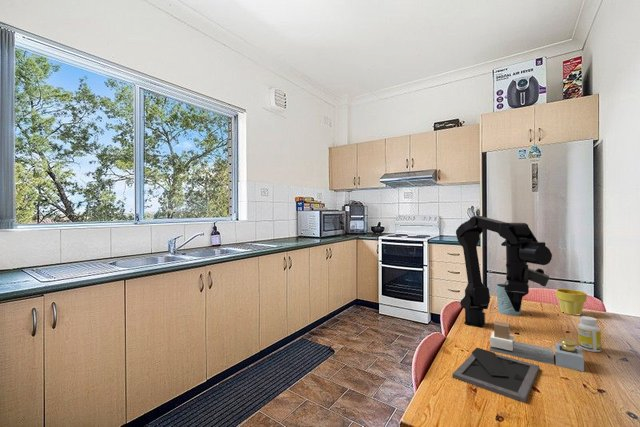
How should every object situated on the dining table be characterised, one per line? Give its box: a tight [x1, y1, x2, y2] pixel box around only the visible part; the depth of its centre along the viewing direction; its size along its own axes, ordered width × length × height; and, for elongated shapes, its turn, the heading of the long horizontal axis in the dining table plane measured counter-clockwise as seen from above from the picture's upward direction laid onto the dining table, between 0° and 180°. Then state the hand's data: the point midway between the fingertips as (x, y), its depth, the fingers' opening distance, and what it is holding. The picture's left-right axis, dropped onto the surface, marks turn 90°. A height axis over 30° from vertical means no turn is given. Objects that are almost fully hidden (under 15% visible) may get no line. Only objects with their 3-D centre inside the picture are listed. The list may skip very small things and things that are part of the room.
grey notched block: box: [554, 342, 585, 372], centre depth 86 cm, size 6×8×4 cm
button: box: [559, 337, 577, 353], centre depth 86 cm, size 4×4×4 cm
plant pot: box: [555, 288, 587, 315], centre depth 131 cm, size 10×10×10 cm
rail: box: [489, 340, 555, 366], centre depth 93 cm, size 16×8×3 cm, turn 53°
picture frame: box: [451, 347, 540, 404], centre depth 81 cm, size 16×2×21 cm
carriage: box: [489, 320, 515, 351], centre depth 96 cm, size 6×6×7 cm
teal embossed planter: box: [495, 283, 523, 317], centre depth 133 cm, size 10×10×12 cm
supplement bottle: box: [577, 315, 602, 353], centre depth 95 cm, size 5×5×10 cm
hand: (517, 308), depth 98 cm, fingers open, 9 cm apart
